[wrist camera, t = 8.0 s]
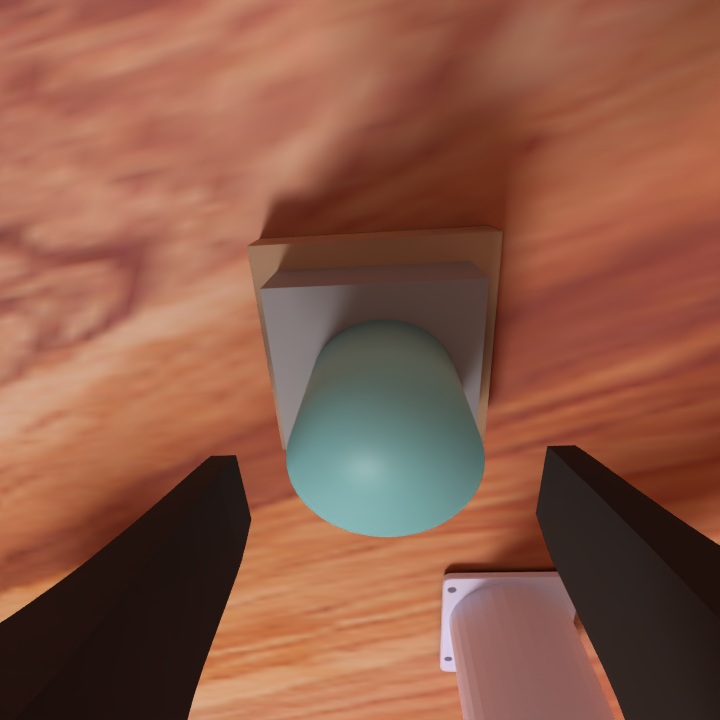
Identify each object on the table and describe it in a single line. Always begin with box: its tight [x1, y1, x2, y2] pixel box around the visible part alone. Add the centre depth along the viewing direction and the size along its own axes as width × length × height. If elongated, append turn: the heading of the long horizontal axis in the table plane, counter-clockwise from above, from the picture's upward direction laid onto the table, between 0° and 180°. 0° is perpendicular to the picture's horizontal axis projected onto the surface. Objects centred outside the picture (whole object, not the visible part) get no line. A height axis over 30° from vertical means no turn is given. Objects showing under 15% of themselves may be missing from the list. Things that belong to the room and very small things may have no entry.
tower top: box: [260, 261, 489, 451], centre depth 15 cm, size 7×7×2 cm
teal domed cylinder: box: [286, 320, 485, 537], centre depth 12 cm, size 5×5×4 cm
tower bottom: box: [247, 225, 503, 450], centre depth 17 cm, size 9×9×2 cm
